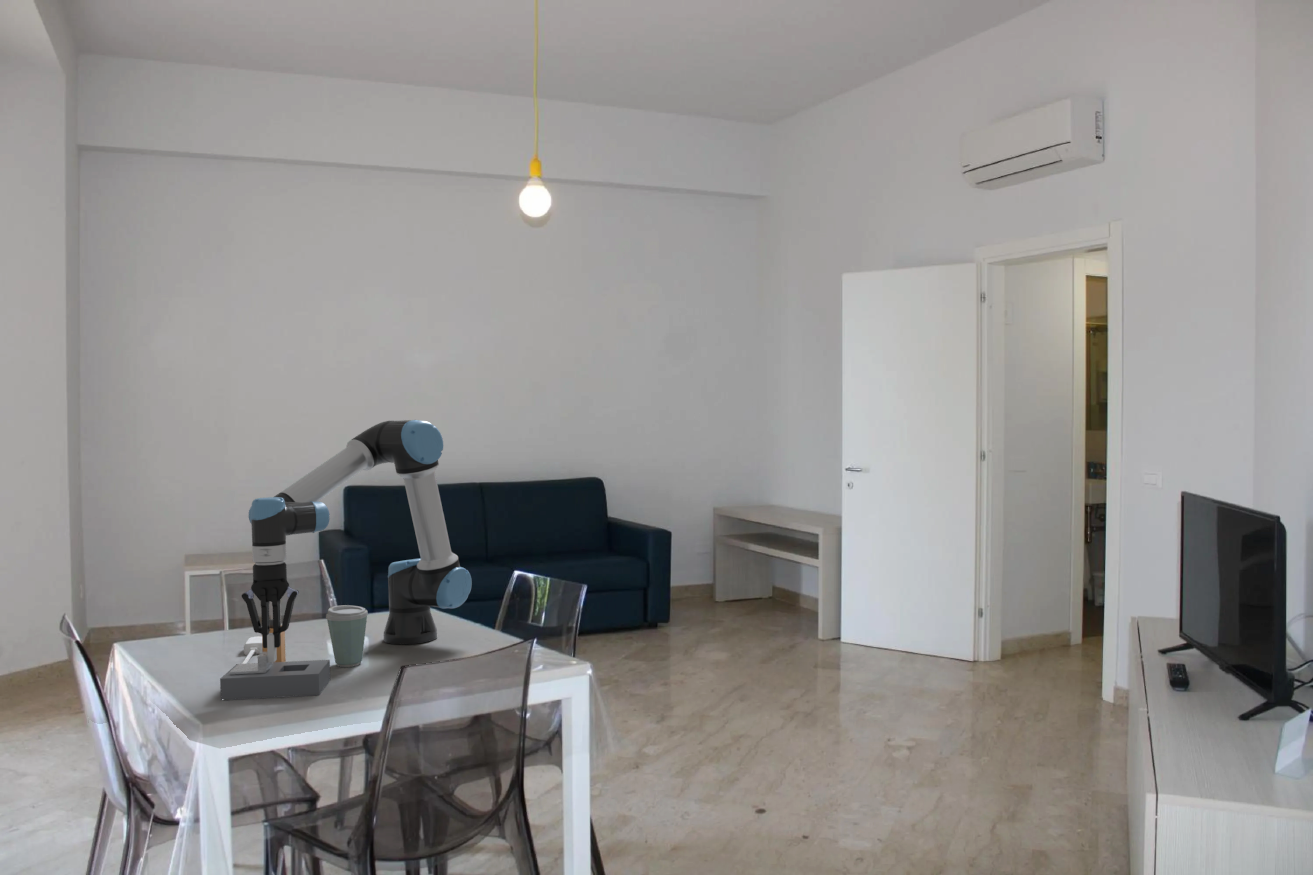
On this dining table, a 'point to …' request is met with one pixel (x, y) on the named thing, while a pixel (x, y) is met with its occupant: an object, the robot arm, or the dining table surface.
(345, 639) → the disposable coffee cup
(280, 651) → the plug
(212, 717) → the dining table surface
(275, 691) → the socket box
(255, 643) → the charging cable
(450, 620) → the dining table surface
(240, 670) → the shutter
